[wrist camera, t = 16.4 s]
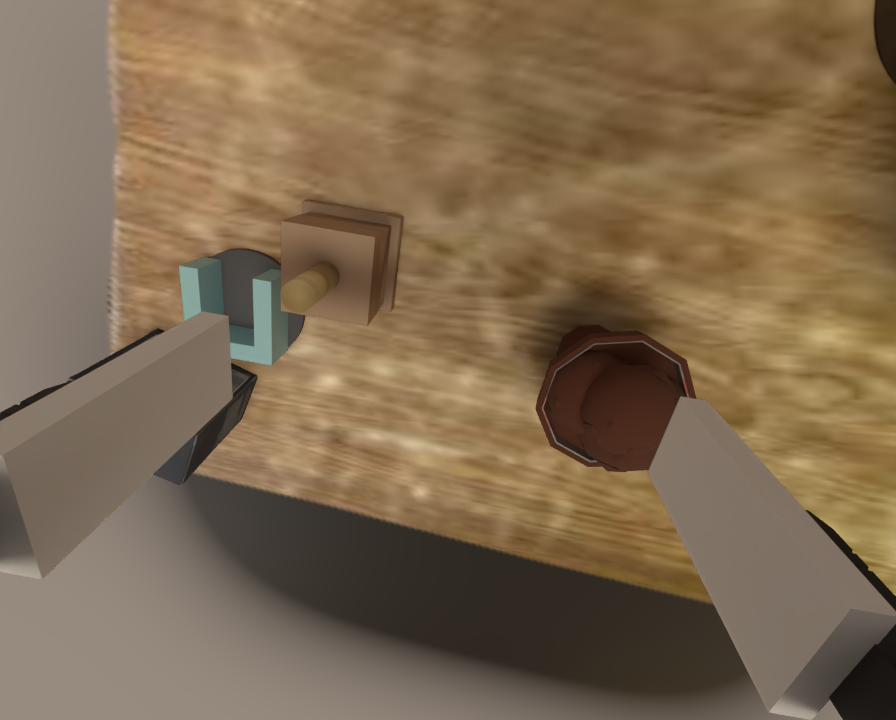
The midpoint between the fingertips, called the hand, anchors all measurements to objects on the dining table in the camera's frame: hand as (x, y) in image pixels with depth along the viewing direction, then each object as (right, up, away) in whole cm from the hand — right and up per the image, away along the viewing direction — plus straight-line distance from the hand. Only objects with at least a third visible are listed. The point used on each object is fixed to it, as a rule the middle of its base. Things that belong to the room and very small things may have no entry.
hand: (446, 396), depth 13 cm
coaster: (-18, +6, +28) cm, 34 cm away
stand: (-8, +10, +26) cm, 29 cm away
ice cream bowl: (+13, +2, +28) cm, 31 cm away
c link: (-18, +6, +28) cm, 34 cm away
